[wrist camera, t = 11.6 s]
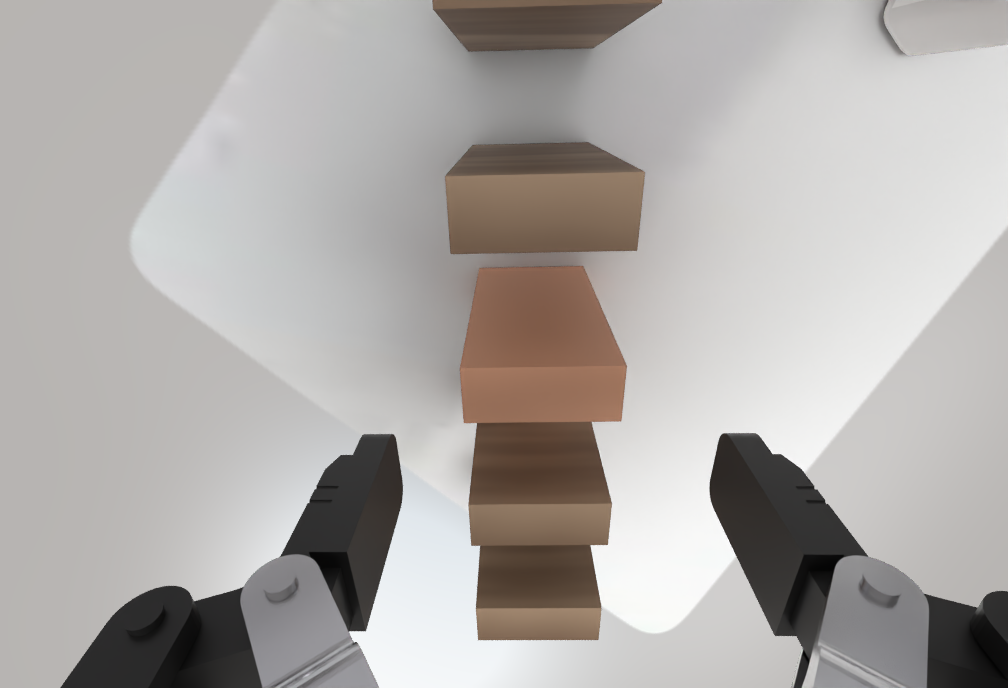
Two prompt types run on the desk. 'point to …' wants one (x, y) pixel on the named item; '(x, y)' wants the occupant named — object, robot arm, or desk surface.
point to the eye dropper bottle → (946, 24)
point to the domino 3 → (539, 350)
